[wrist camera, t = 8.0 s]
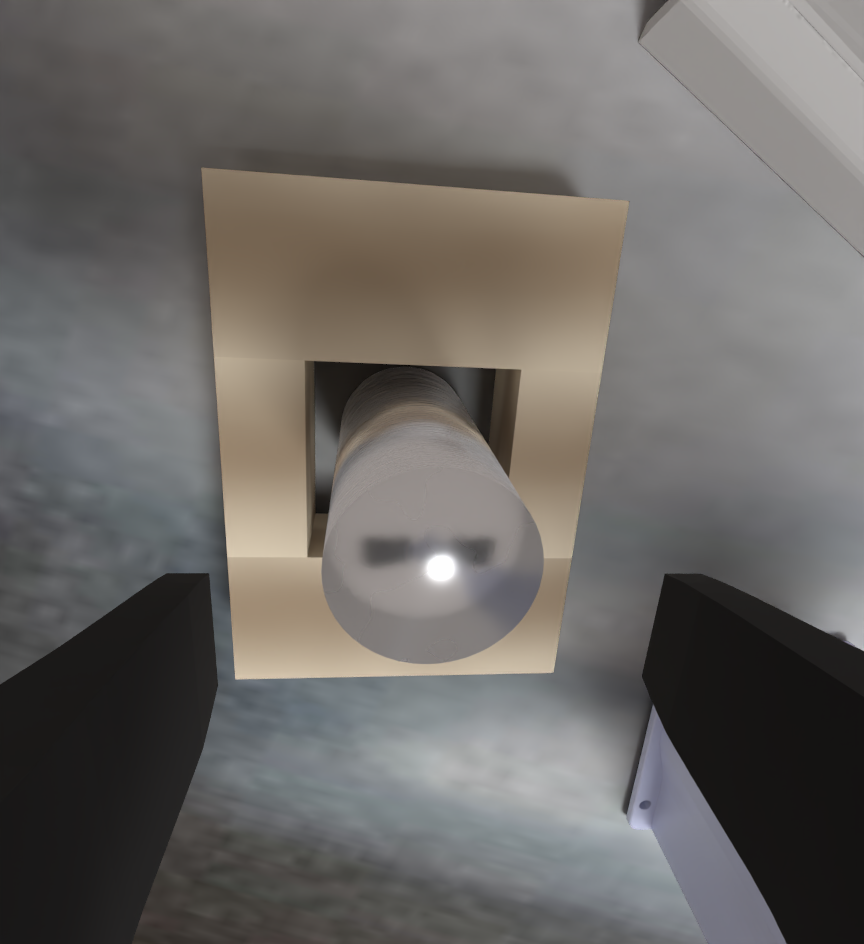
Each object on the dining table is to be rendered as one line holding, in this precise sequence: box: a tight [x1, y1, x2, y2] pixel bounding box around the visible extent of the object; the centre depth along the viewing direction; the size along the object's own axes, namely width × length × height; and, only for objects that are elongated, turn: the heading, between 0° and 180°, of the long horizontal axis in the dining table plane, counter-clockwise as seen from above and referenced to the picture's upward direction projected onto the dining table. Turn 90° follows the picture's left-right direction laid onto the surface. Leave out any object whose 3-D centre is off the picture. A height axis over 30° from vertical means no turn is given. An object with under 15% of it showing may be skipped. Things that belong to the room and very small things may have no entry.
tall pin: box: [321, 367, 544, 664], centre depth 15 cm, size 4×4×9 cm
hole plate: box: [201, 168, 629, 679], centre depth 18 cm, size 14×10×3 cm
